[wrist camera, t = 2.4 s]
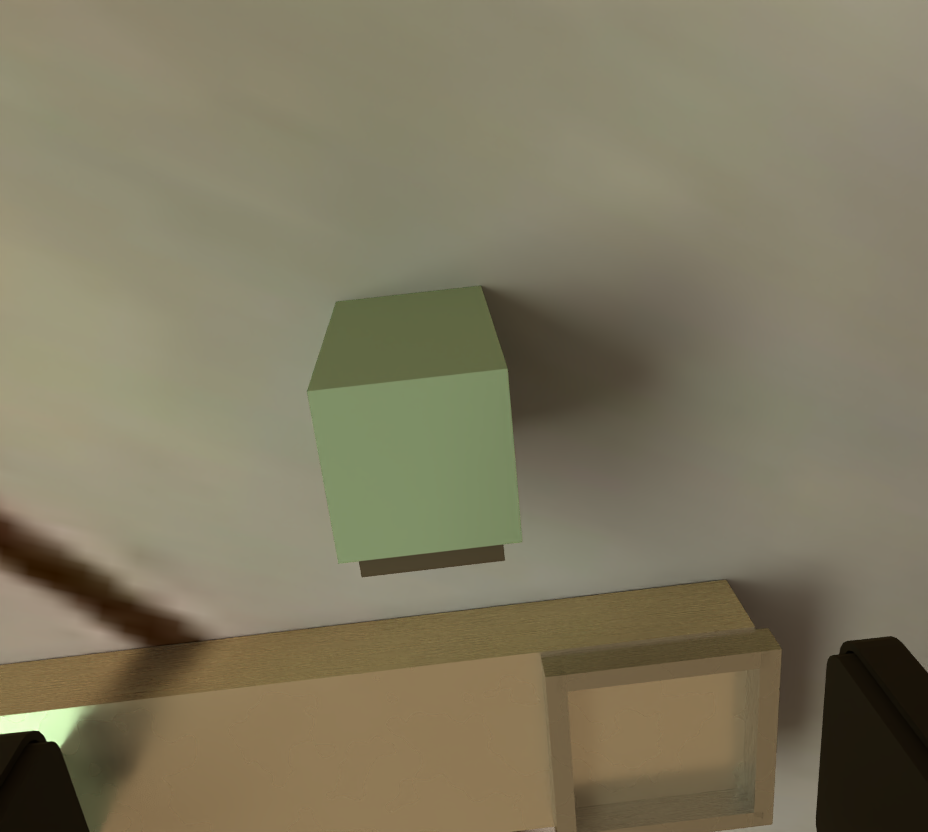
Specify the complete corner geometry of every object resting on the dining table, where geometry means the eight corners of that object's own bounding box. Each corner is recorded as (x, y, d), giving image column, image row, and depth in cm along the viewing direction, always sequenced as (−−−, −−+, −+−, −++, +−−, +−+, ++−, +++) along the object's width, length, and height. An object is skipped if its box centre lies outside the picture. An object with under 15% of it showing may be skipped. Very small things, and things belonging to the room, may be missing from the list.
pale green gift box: (360, 452, 25) (342, 587, 18) (336, 301, 23) (306, 391, 17) (495, 437, 25) (524, 565, 19) (480, 285, 23) (507, 368, 17)
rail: (-82, 674, 27) (-320, 966, 18) (738, 578, 27) (892, 818, 19) (-13, 835, 30) (-191, 1157, 21) (733, 744, 30) (866, 1023, 21)
